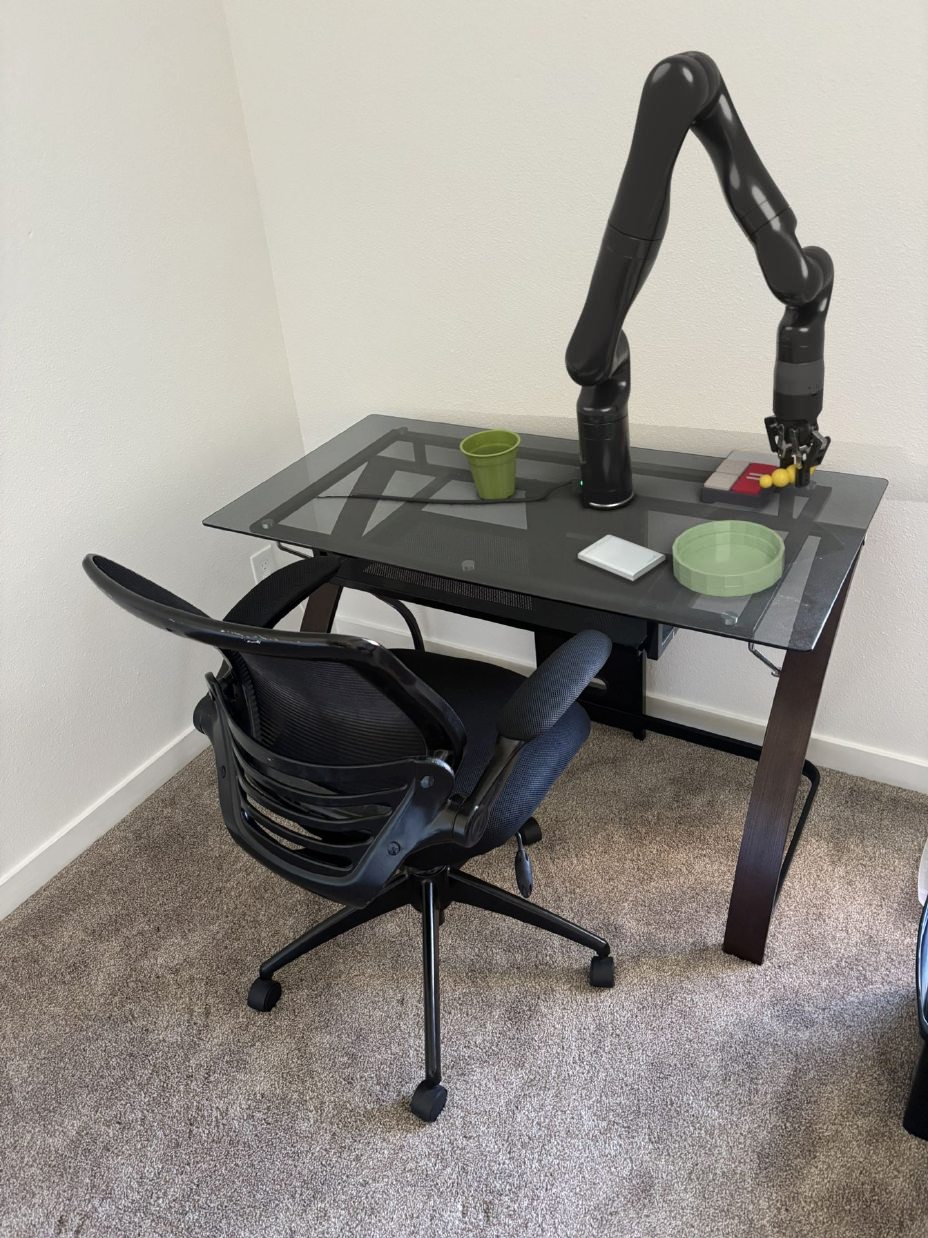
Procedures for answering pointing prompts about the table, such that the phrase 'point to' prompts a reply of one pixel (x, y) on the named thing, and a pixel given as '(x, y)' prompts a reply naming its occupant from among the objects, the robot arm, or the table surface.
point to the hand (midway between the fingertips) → (794, 482)
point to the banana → (781, 477)
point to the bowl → (728, 558)
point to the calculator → (741, 479)
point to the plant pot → (492, 462)
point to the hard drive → (621, 557)
